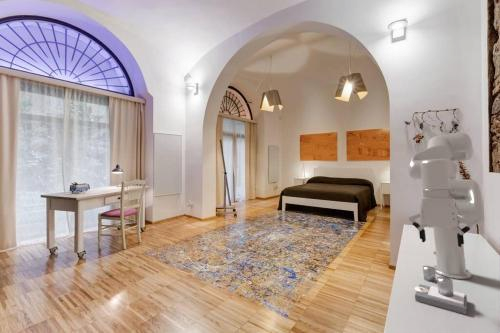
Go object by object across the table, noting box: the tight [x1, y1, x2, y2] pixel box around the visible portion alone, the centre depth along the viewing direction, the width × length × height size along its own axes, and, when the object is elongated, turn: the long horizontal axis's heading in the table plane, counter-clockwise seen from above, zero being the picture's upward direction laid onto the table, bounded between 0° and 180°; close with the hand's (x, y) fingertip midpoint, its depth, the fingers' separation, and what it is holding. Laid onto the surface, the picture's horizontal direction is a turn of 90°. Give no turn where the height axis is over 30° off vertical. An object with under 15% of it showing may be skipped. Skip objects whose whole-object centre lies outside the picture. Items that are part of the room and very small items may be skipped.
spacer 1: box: [422, 265, 437, 283], centre depth 94 cm, size 4×4×5 cm
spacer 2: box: [436, 276, 454, 297], centre depth 78 cm, size 4×4×5 cm
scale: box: [414, 284, 468, 316], centre depth 79 cm, size 10×14×3 cm
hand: (441, 243), depth 79 cm, fingers open, 9 cm apart
